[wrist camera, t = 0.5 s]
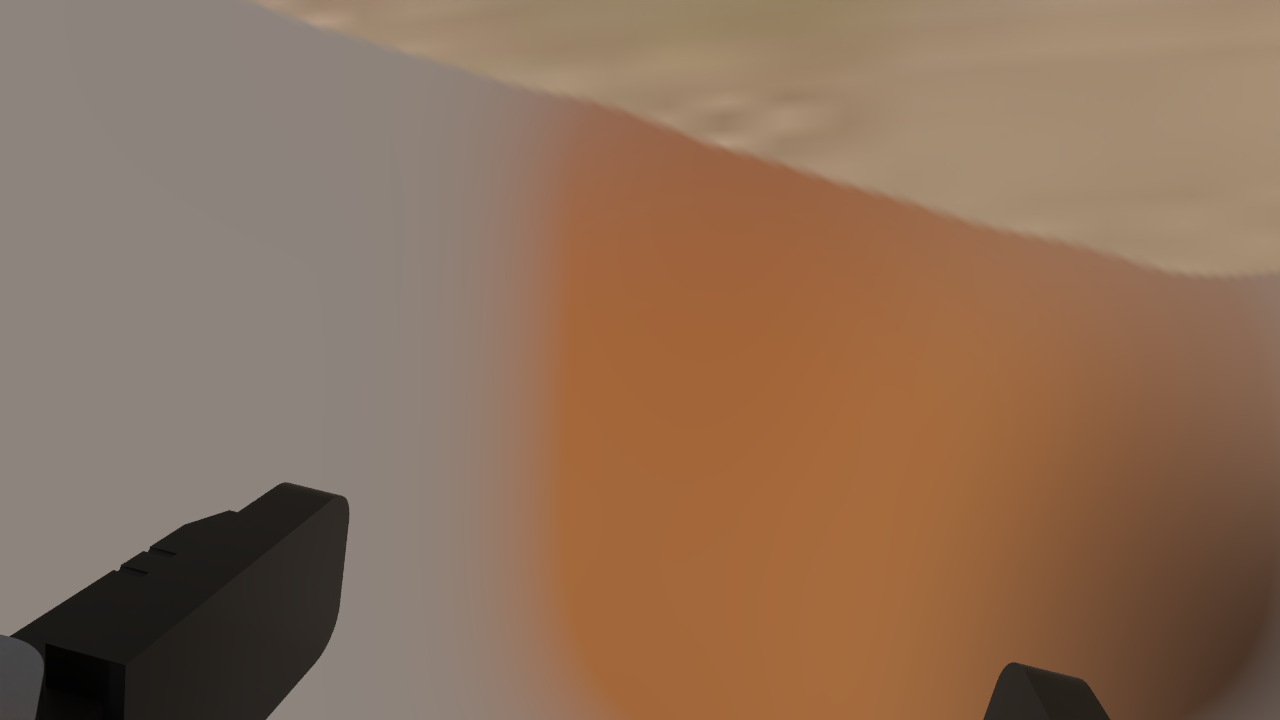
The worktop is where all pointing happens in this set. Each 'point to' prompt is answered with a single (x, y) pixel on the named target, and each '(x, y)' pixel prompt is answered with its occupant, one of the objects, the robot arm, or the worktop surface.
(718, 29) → the worktop surface
